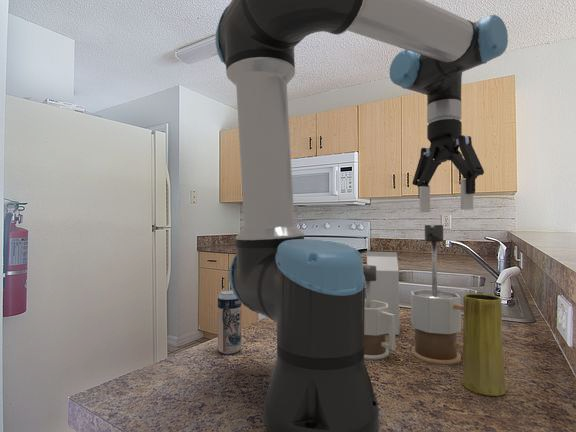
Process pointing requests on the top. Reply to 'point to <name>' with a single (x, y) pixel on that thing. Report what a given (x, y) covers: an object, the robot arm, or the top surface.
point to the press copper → (436, 327)
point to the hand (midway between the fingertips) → (444, 210)
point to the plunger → (434, 259)
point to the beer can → (229, 323)
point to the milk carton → (386, 282)
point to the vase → (483, 345)
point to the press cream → (376, 322)
